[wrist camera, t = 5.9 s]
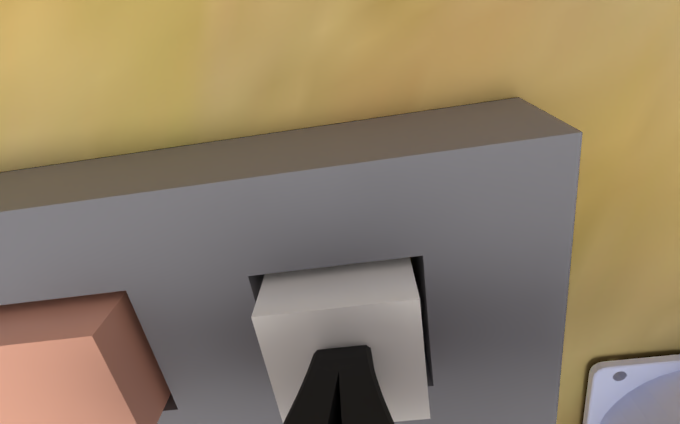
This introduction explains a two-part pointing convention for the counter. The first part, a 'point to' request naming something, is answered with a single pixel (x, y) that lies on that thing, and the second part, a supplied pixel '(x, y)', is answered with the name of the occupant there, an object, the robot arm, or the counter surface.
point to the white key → (345, 328)
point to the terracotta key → (78, 363)
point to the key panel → (321, 248)
